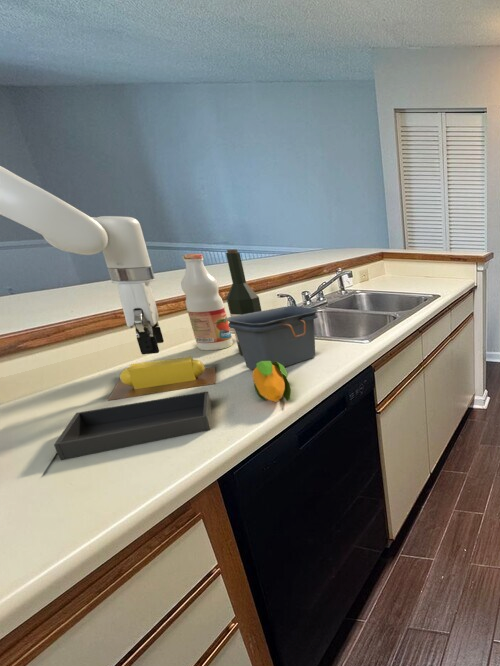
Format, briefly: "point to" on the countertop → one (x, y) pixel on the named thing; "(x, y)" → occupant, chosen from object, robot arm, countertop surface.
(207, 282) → the fruit juice
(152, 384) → the yellow rounded-end bar
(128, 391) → the board
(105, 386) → the countertop surface
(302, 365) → the countertop surface
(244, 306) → the wine bottle
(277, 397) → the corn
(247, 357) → the storage bin
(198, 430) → the tray
